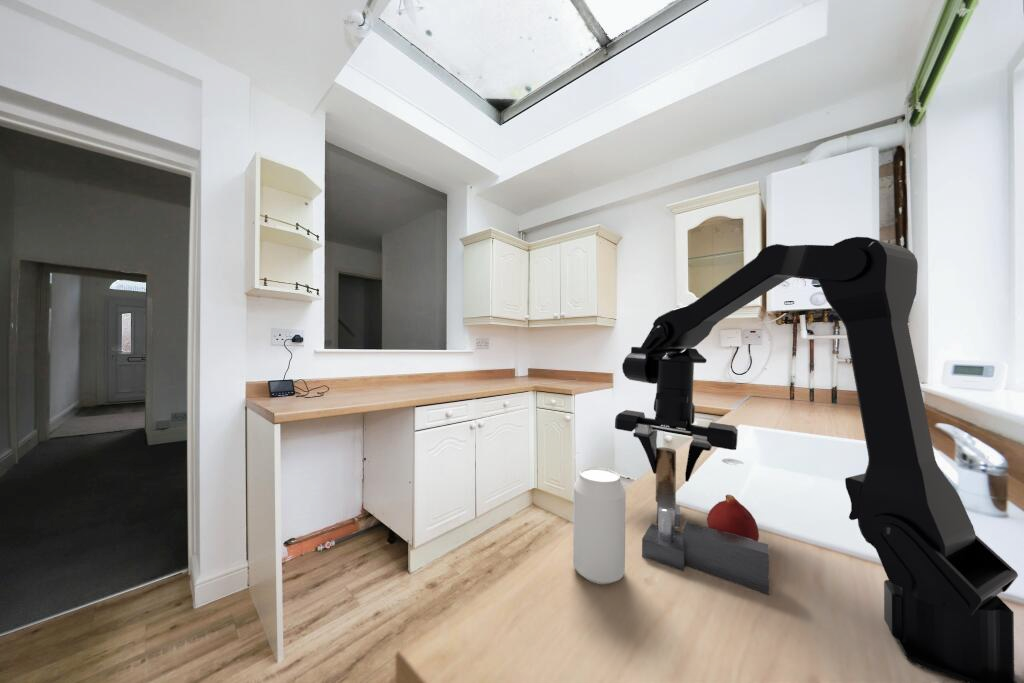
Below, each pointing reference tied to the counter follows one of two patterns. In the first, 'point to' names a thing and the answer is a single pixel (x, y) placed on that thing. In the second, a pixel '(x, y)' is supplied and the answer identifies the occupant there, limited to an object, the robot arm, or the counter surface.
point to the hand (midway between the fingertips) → (671, 476)
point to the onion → (733, 519)
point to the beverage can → (599, 525)
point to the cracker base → (707, 551)
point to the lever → (666, 481)
